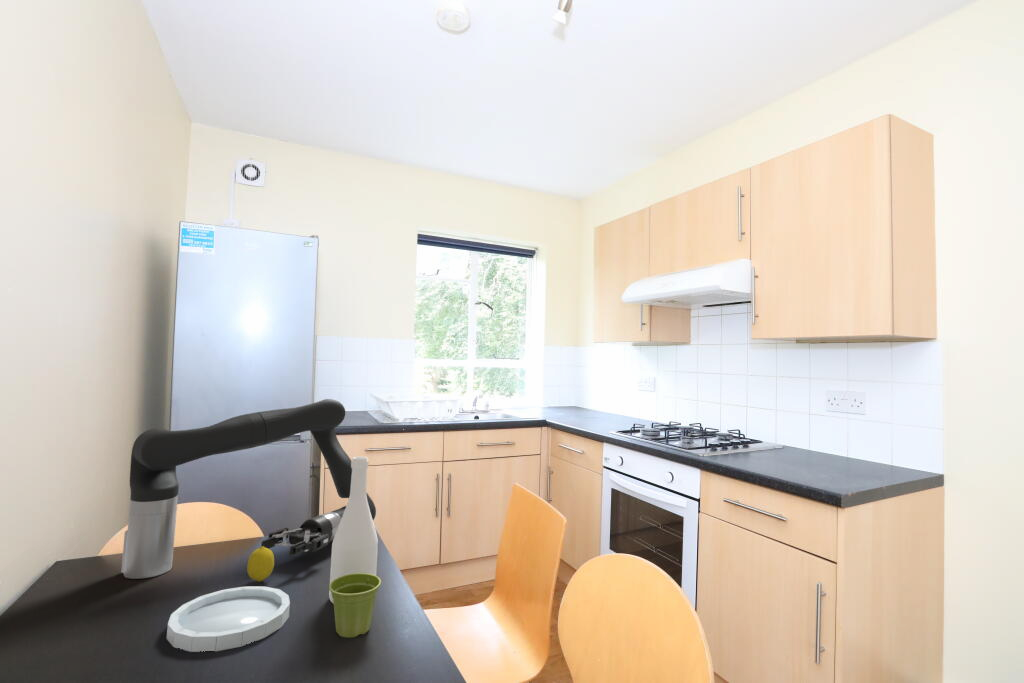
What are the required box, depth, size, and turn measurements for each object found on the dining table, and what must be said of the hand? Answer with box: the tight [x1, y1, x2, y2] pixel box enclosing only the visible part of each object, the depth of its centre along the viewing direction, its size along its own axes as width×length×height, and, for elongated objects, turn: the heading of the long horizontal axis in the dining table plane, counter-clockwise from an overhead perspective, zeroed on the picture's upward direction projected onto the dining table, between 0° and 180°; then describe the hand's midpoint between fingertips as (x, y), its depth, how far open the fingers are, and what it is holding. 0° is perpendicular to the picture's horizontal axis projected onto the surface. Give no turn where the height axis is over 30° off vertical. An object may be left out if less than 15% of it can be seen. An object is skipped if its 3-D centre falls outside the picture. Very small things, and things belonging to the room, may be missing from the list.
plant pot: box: [328, 573, 382, 639], centre depth 93 cm, size 9×9×9 cm
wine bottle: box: [328, 456, 379, 605], centre depth 106 cm, size 10×10×30 cm
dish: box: [166, 585, 291, 653], centre depth 93 cm, size 20×20×2 cm
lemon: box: [246, 545, 275, 583], centre depth 112 cm, size 6×6×8 cm
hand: (276, 548), depth 116 cm, fingers open, 8 cm apart
